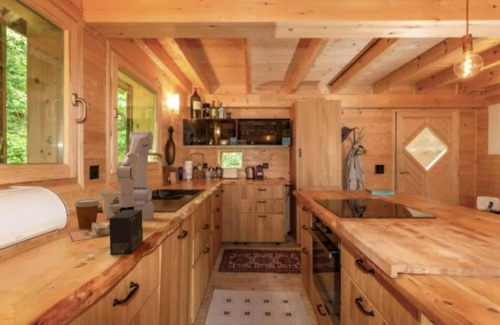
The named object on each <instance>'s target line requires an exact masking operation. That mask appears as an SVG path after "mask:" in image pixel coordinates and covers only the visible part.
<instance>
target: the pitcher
mask: <svg viewBox="0 0 500 325" xmlns="http://www.w3.org/2000/svg"><path fill="white" fill-rule="evenodd" d="M97 194H98V195H100V196H101V197H102V203H101V205H102V206H101V207H102V211H103V214H104V217H105V218H106V219H107V220H109V218H111V217H113V216H114V215H116V214H118V213H120V211H119V209H117V210H111V211H108V205H115V204H119V190H115V191H114V190H113V191H100V192H97ZM131 207H132V206H131Z"/></svg>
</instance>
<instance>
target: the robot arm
mask: <svg viewBox="0 0 500 325" xmlns="http://www.w3.org/2000/svg"><path fill="white" fill-rule="evenodd" d="M153 135H154V134H153V133H152V131H151V130H150V131H149V130H148V131H139V130H138V131H135V130H132V131H130V133H129V137H128V138H129V142H130V147H129V151H128V152H127V153H125V155H124V158H123V161H122V164H121V165H120V166H119V167H117V170H116V178H117V183H118V184H119V186H118V188H119V190H118V191H119V204H115V205H108V211H111V210H117V209H119V211H120V212H121V211H123V210H142V222H144V221H149V220H151V221H154V220H155V218H154V217H155V213H154V211H155V209H154V202H153V201H151V200H152V196H153V192H152V186H151V185H150V184H149V183H148V182H147V176H148V162H149V152H150V150H151V149H153V143H154V142H153V141H154V136H153ZM131 206H132V207H131Z"/></svg>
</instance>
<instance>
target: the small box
mask: <svg viewBox="0 0 500 325" xmlns="http://www.w3.org/2000/svg"><path fill="white" fill-rule="evenodd" d="M108 220H109V222H110V236H109V246H110V248H109V252H110V253H109V254H110V255H113V256H115V255H132V254H133V253H134V252H135V251H136V249H137V248H138V247H139V246H140V245H141V244H142V243H143V242H144V236H143V235H144V231H143V230H144V229H143V221H142V210H123V211H121V212H120V213H118V214H116V215H114V216H113V217H111V218H109V219H108Z"/></svg>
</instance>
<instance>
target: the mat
mask: <svg viewBox="0 0 500 325" xmlns="http://www.w3.org/2000/svg"><path fill="white" fill-rule="evenodd" d="M67 234H68V235H69V239H70V240H71V242H72V243H76V242H82V241H89V240H93V239H99V238H105V237H110V232H108V235H103V236H96V235H95V234H94V232H93V231H92V228H86V229H80V230H73V231H68V232H67Z"/></svg>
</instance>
